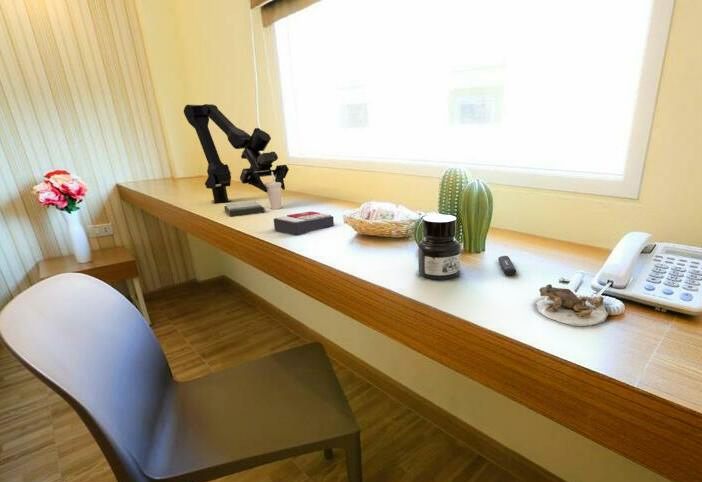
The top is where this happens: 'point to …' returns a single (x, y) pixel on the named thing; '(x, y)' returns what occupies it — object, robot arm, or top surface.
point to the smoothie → (274, 193)
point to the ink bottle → (439, 248)
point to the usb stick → (507, 265)
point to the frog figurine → (571, 307)
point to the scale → (243, 208)
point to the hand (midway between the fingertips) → (275, 190)
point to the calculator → (302, 222)
